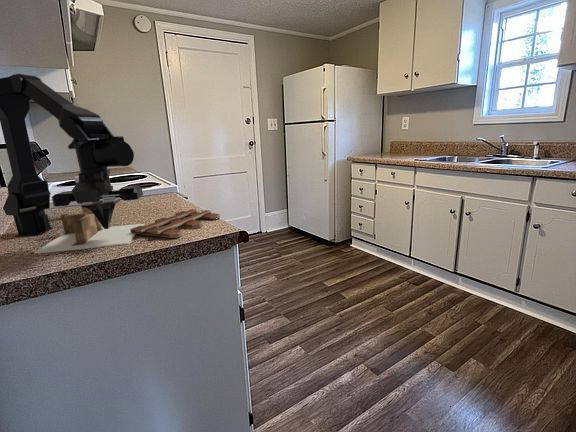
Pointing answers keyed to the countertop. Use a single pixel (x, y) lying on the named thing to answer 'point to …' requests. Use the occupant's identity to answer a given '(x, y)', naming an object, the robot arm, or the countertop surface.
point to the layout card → (92, 239)
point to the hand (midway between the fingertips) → (107, 228)
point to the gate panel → (84, 228)
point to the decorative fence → (175, 223)
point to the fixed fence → (69, 218)
